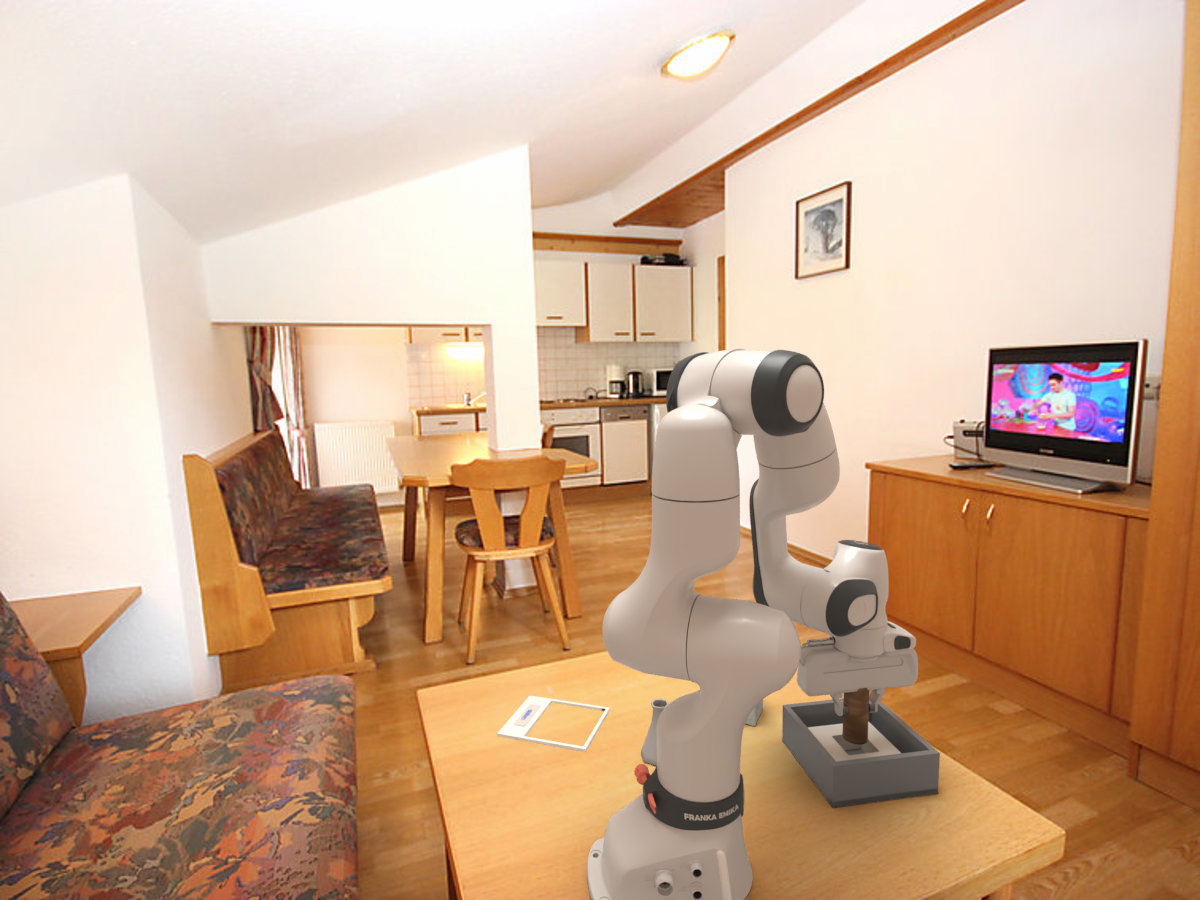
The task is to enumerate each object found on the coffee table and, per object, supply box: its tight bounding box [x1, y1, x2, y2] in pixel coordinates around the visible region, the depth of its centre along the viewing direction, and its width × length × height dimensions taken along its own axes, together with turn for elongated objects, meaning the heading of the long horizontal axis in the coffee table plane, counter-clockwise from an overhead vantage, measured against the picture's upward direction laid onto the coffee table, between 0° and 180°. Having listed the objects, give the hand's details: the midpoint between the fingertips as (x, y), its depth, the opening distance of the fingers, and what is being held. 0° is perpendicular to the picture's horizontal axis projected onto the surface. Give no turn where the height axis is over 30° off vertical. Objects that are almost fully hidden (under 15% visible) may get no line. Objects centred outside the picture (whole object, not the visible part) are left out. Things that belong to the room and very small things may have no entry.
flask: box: [640, 697, 670, 767], centre depth 110 cm, size 7×7×10 cm
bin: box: [781, 697, 941, 809], centre depth 105 cm, size 18×18×7 cm
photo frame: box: [496, 695, 611, 753], centre depth 121 cm, size 15×1×18 cm
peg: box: [842, 688, 870, 745], centre depth 105 cm, size 4×4×10 cm
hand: (856, 712), depth 105 cm, fingers closed on peg, 4 cm apart
